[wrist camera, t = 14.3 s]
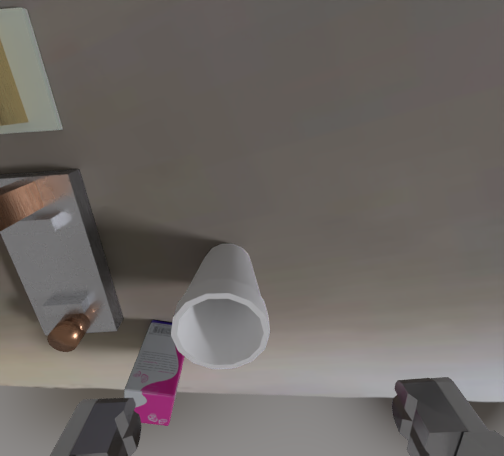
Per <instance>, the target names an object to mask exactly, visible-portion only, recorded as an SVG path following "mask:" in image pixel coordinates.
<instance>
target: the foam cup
mask: <svg viewBox="0 0 504 456" xmlns="http://www.w3.org/2000/svg"><path fill="white" fill-rule="evenodd" d="M269 335H270V326H269V316H268V313H267V309H266V305H265V302H264V299H263V298H262V297H261V295H260V291H259V288H258V284H257V281H256V277H255V274H254V270H253V267H252V263H251V260H250V257H249V254H248V253H247V252H246V251H245V250H244V249H243V248H242V247H240V246H237V245H235V244H232V243H229V244H220V245H217V246H215V247H213V248H212V249H211V250H210V251H209V252H208V253H207V255H206V256H205V258H204V260H203V261H202V263H201V265H200V267H199V269H198V270H197V272H196V274H195V276H194V278H193V280H192V281H191V283H190V285H189V287H188V289H187V291H186V292H185V294H184V295H183V296H182V298H181V299H180V300H179V301H178V304H177V307H176V310H175V313H174V316H173V321H172V329H171V337H172V339H173V341H174V343H175V345H176V348H177V350H178V351H179V352H180V353H181V354H182V355H184V356H185V357H186V358H187V359H189V360H190V361H191V362H192V363H194V364H198V365H201V366H204V367H207V368H210V369H234V368H237V367H239V366H242V365H244V364H247V363H250V362H252V361H253V360H254V359H255V358H256V357H257V356H258V355H259V354H260V353H261V352H262V351H263V350H264V349H265V348H266V344H267V341H268V338H269Z"/></svg>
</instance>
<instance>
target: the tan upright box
mask: <svg viewBox="0 0 504 456" xmlns="http://www.w3.org/2000/svg"><path fill="white" fill-rule="evenodd" d="M26 122H29V121H28V118H27V115H26V113H25V110H24V107H23V104H22V101H21V98H20V95H19V92H18V89H17V86H16V83H15V80H14V77H13V75H12V72H11V69H10V66H9V63H8V60H7V57H6V54H5V51H4V48H3V45H2V42H1V39H0V126H3V125H11V124H19V123H26Z"/></svg>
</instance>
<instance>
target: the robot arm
mask: <svg viewBox="0 0 504 456" xmlns="http://www.w3.org/2000/svg"><path fill="white" fill-rule="evenodd" d="M395 391H396V393H397V396H395V397H394V398H393V401H392V411H393V417H394V420H395V423H396V426H397V428H398V431H399V433H400V434H401V435H402V436H403V437H405V438H406V439H407V440H408V447H407V451H408V453H409V455H410V456H504V437H503V436H502V435H500V434H499V433H497V432H496V431H489V430H488V429H487V427H486V426H485V425H484V423H483V422H482V420H481V419H480V418H479V416H478V415H477V414H476V412H475V411H474V409H473V408H472V407H471V405H470V404H469V403H468V401H467V400H466V398H465V397H464V396H463V394H462V393H461V392H460V390H459V389H458V387H457V386H456V385H455V383H454V382H453V381H452V380H451V379H450V378H448V377H443V378H431V379H430V378H422V379H410V380H398V381H397V382H396V384H395ZM135 406H136V403H135V401H134V398H110V399H87V400H82V401H81V402H80V403H79V404H78V405H77V407H76V409H75V411H74V413H73V414H72V416H71V418H70V420H69V422H68V424H67V425H66V427H65V429H64V431H63V433H62V434H61V436H60V438H59V440H58V442H57V444H56V445H55V447H54V449H53V451H52V453H51V455H50V456H131V455H132V454H133V453H134V452H135V451H136V449H137V447H138V444H139V440H140V433H141V419H140V416H139V414H138V413H136V412H135V411H134V409H135Z"/></svg>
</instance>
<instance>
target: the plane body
mask: <svg viewBox="0 0 504 456" xmlns="http://www.w3.org/2000/svg"><path fill="white" fill-rule="evenodd" d="M0 234H1V236H2V238H3V240H4V243H5V245H6V247H7V249H8V252H9V254H10V256H11V259H12V261H13V263H14V265H15V268H16V270H17V272H18V275H19V277H20V279H21V281H22V284H23V286H24V288H25V291H26V293H27V295H28V297H29V300H30V302H31V304H32V306H33V309H34V311H35V313H36V316H37V318H38V320H39V322H40V325H41V327H42V329H43V332H44V334H45V335H48V342H49V344H50V345H51V346H52V347H53V348H54V349H56V350H59V351H63V352H69V351H72V350H74V349H75V348H76V347H77V345H78V344H79V342H80V341H81V339H82V338H83V336H84V335H85V333H93V332H109V331H117V330H118V328H119V326H120V324H121V323H122V321H123V319H124V318H123V315H122V312H121V308H120V305H119V302H118V298H117V295H116V291H115V288H114V285H113V281H112V278H111V275H110V271H109V268H108V264H107V261H106V258H105V254H104V251H103V247H102V244H101V241H100V237H99V234H98V231H97V227H96V224H95V220H94V217H93V214H92V210H91V207H90V203H89V200H88V197H87V193H86V190H85V187H84V183H83V180H82V176H81V173H80V170H79V169H74V170H59V171H44V172H30V173H15V174H1V175H0Z"/></svg>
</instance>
